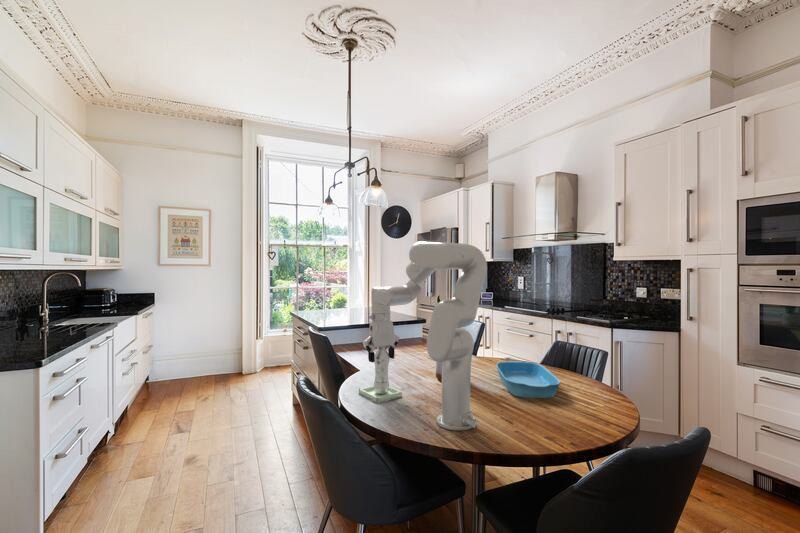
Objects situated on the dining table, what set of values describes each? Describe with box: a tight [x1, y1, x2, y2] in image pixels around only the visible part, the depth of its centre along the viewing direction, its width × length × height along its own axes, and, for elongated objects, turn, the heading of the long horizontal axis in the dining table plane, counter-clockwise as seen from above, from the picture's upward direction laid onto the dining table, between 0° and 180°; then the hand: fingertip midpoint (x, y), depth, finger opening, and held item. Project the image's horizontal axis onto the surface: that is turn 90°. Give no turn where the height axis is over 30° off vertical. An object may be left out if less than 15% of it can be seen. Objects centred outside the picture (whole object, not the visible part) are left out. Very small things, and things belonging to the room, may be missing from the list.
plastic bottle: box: [373, 346, 391, 394], centre depth 154 cm, size 6×7×20 cm
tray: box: [358, 385, 403, 404], centre depth 153 cm, size 13×12×2 cm
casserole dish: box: [496, 360, 561, 399], centre depth 165 cm, size 37×22×7 cm, turn 176°
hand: (381, 359), depth 152 cm, fingers open, 9 cm apart
